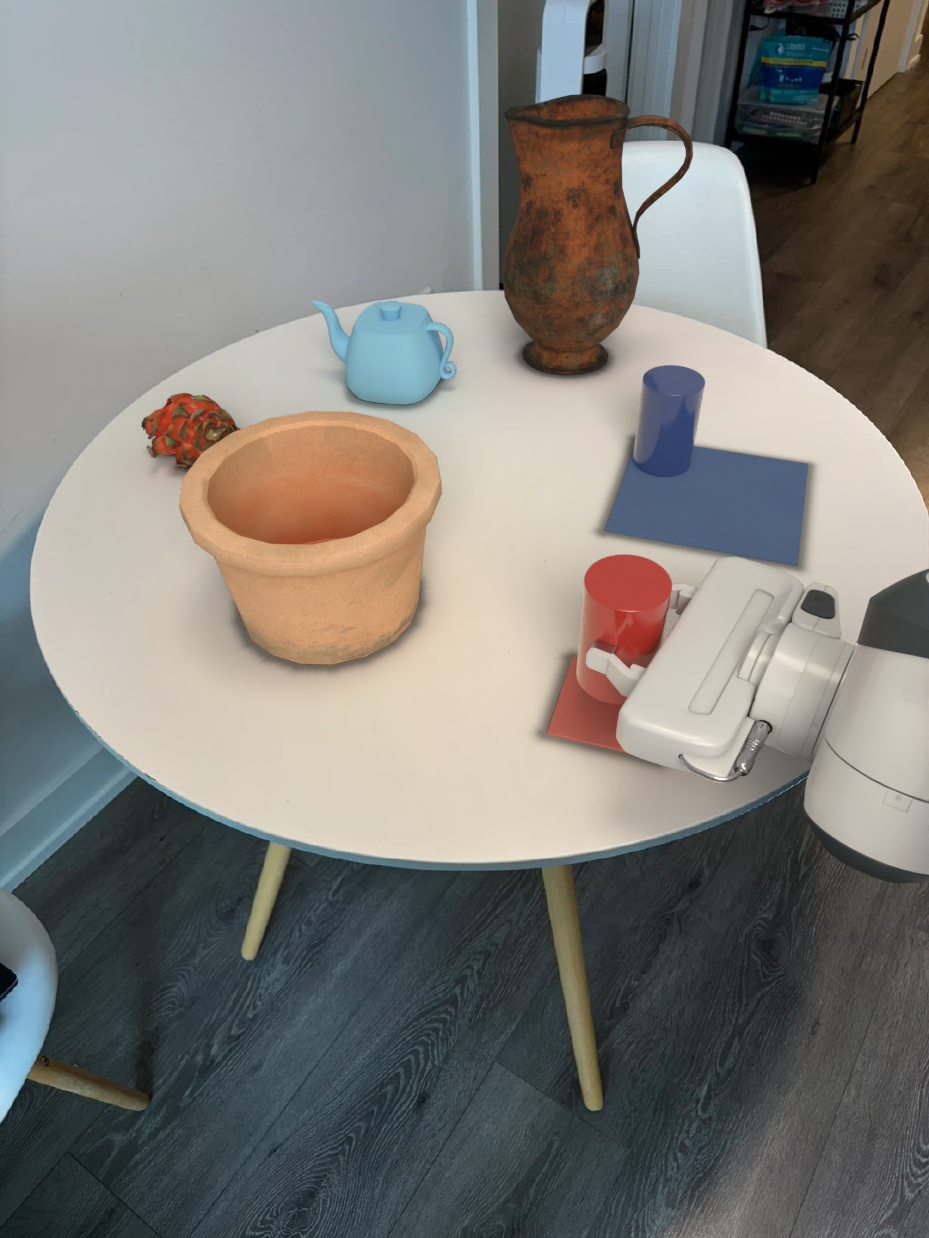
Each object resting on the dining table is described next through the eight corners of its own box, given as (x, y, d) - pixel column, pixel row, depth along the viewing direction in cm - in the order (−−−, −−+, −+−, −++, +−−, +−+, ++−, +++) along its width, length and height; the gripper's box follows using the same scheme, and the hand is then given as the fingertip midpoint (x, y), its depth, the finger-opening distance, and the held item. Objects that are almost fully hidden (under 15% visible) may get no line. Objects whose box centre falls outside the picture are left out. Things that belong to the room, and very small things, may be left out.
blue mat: (807, 466, 102) (808, 463, 102) (796, 567, 90) (797, 564, 90) (636, 440, 107) (637, 437, 106) (604, 532, 94) (604, 529, 94)
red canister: (636, 639, 77) (649, 546, 70) (670, 694, 73) (687, 600, 66) (564, 657, 76) (571, 563, 69) (594, 713, 72) (604, 619, 65)
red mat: (674, 681, 79) (675, 677, 79) (657, 761, 73) (657, 757, 73) (572, 659, 82) (572, 655, 81) (546, 734, 75) (547, 731, 75)
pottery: (175, 592, 89) (135, 467, 79) (366, 506, 99) (352, 385, 89) (285, 728, 76) (255, 599, 67) (493, 614, 86) (493, 487, 76)
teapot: (327, 276, 116) (466, 287, 113) (337, 354, 123) (468, 367, 120) (291, 320, 107) (441, 334, 104) (304, 402, 114) (444, 417, 111)
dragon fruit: (247, 484, 105) (162, 478, 109) (264, 414, 106) (180, 411, 110) (203, 455, 97) (113, 450, 101) (222, 380, 98) (132, 378, 103)
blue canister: (694, 450, 104) (709, 369, 97) (686, 481, 100) (700, 399, 93) (638, 441, 106) (648, 361, 99) (627, 472, 101) (637, 390, 95)
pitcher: (512, 324, 129) (516, 82, 108) (667, 337, 125) (702, 89, 104) (488, 383, 117) (488, 124, 96) (658, 399, 113) (696, 134, 93)
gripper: (732, 820, 61) (547, 737, 67) (820, 634, 74) (659, 577, 79) (750, 761, 57) (551, 678, 62) (841, 574, 69) (668, 519, 75)
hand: (612, 620), depth 71 cm, fingers closed on red canister, 6 cm apart
